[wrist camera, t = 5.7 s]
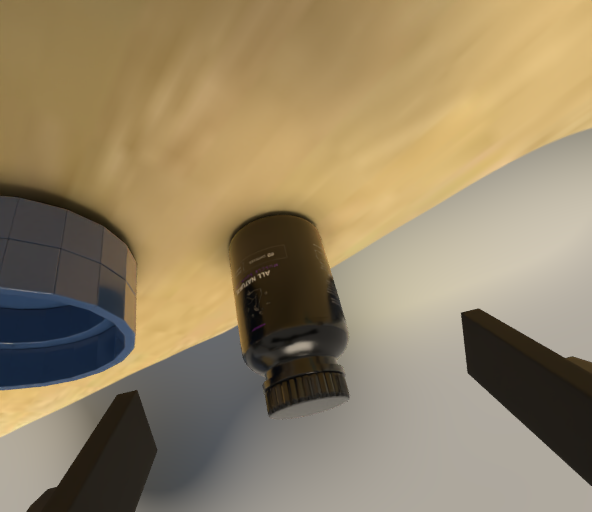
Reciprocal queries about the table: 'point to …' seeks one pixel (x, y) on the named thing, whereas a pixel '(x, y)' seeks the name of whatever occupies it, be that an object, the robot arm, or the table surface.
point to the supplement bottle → (289, 315)
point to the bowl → (61, 296)
